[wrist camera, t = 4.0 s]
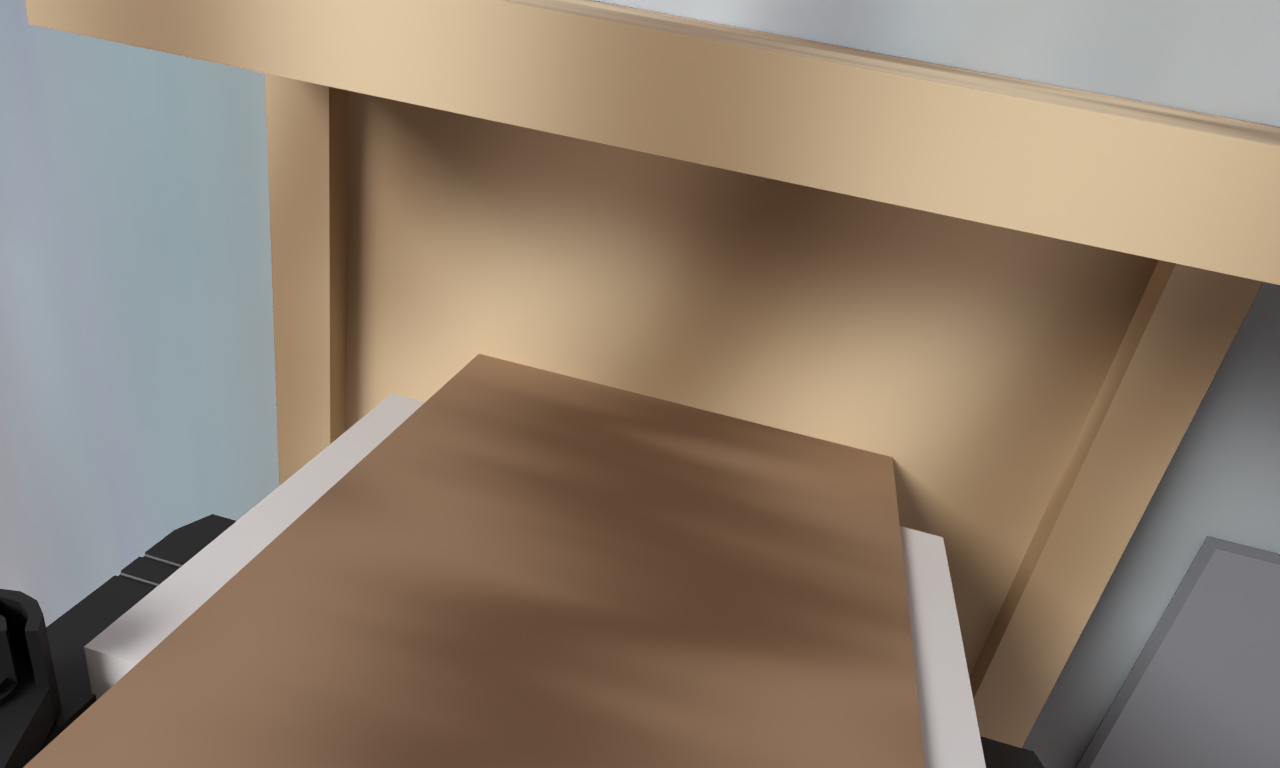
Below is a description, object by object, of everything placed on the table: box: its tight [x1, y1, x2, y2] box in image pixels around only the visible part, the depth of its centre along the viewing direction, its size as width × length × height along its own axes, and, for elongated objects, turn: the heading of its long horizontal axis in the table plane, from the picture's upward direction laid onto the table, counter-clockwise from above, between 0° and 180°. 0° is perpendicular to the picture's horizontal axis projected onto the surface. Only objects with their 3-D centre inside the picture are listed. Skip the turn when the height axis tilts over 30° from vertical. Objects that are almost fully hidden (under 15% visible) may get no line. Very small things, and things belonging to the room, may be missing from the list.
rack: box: [25, 0, 1280, 748], centre depth 14 cm, size 16×16×6 cm
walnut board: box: [23, 354, 925, 768], centre depth 11 cm, size 8×3×12 cm, turn 80°
